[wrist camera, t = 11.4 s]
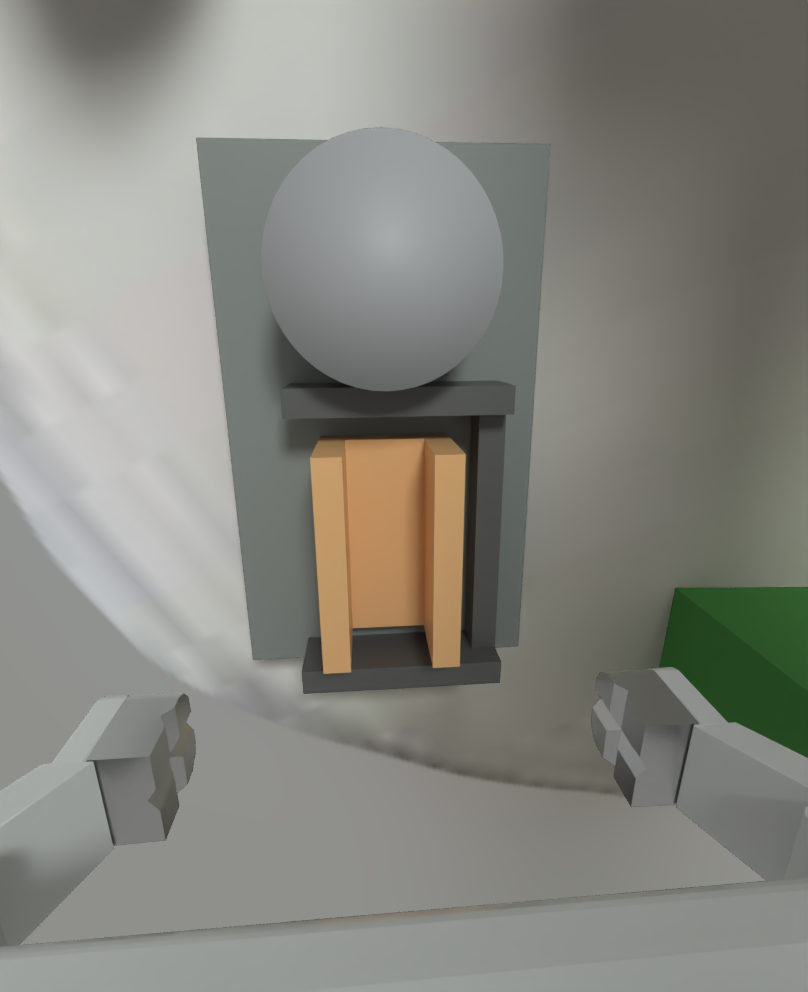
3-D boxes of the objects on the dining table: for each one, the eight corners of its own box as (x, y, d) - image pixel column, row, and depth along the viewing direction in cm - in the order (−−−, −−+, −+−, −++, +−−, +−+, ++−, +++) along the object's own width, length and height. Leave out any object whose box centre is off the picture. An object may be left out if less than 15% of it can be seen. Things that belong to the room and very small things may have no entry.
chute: (320, 435, 20) (310, 457, 16) (446, 433, 20) (465, 454, 16) (330, 616, 22) (323, 674, 18) (443, 611, 23) (459, 666, 19)
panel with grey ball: (220, 167, 20) (146, 77, 13) (524, 172, 20) (601, 89, 14) (265, 624, 25) (230, 724, 19) (501, 613, 26) (547, 705, 20)
